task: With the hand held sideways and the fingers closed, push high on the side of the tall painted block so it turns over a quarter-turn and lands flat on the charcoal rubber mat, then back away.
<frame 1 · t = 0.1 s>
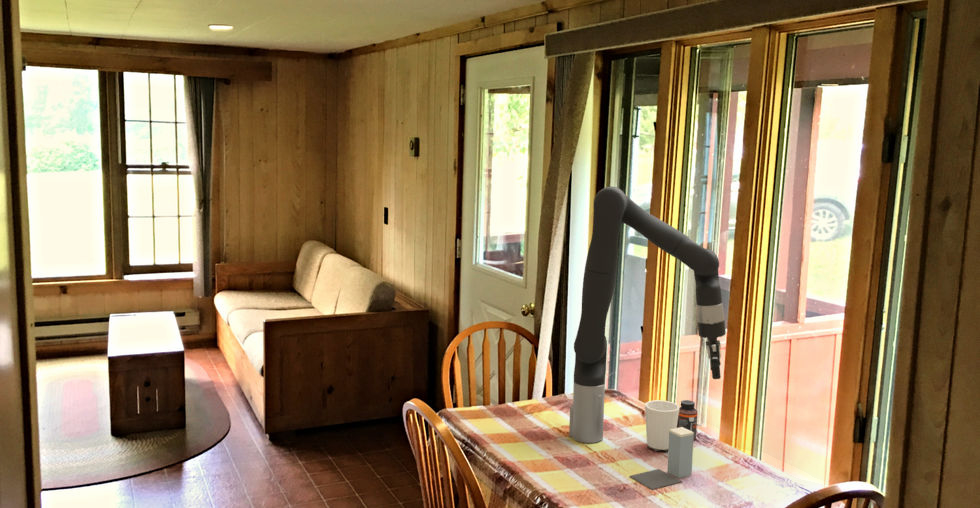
hand: (715, 374, 233), 22 cm above the table, tool pointing down, fingers open, 8 cm apart
supplement bottle: (685, 438, 244), on the table
block: (679, 473, 218), on the table
mat: (655, 479, 214), on the table
cup: (660, 448, 237), on the table
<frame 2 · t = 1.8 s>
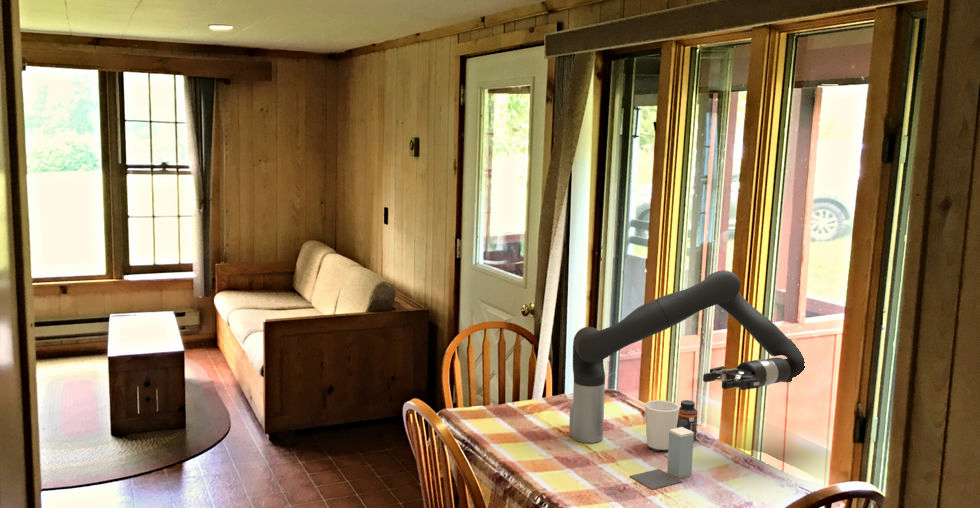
hand: (713, 381, 220), 24 cm above the table, tool horizontal, fingers open, 6 cm apart
nothing on the table moved.
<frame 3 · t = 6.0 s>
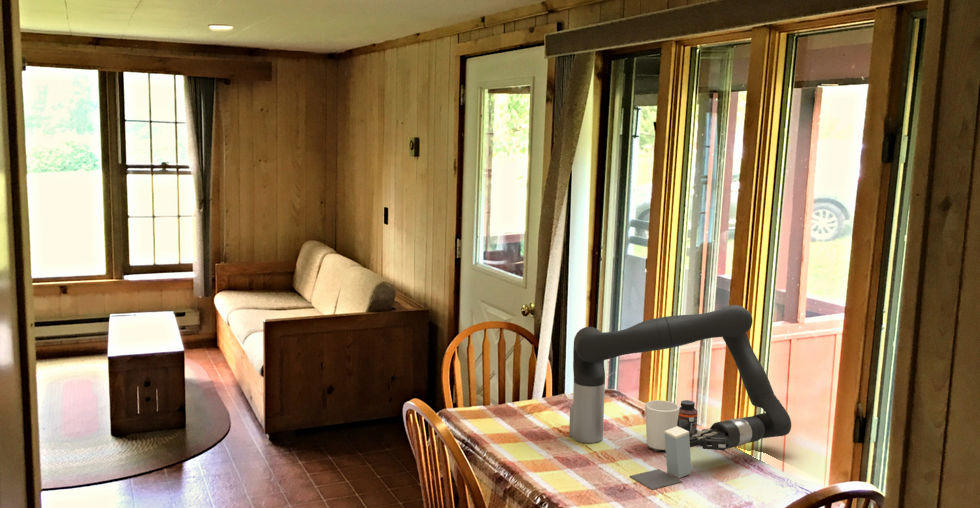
hand: (684, 443, 218), 8 cm above the table, tool horizontal, fingers closed
block: (679, 472, 218), on the table, tilted 8°
everything else where it was.
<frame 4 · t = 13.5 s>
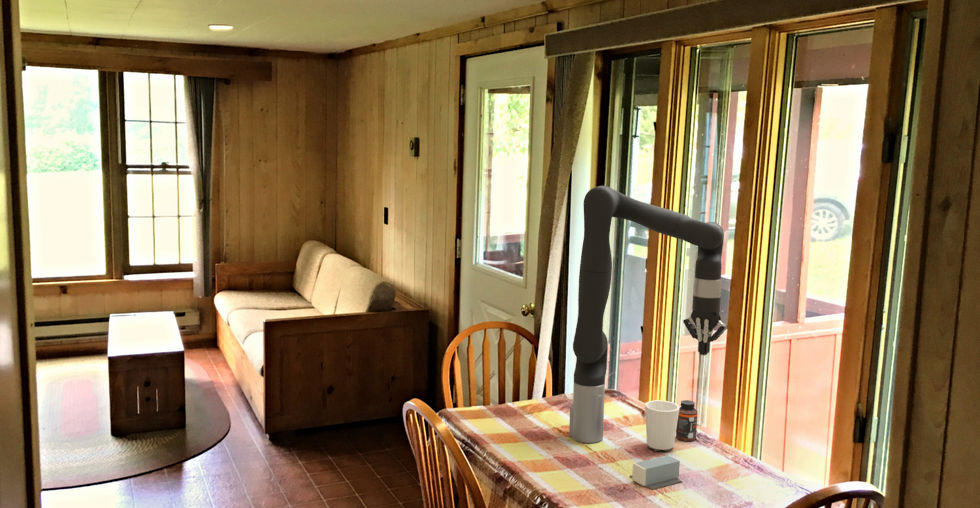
hand: (703, 354, 229), 29 cm above the table, tool pointing down, fingers closed
block: (673, 466, 217), point 3 cm above the table, tilted 90°, touching mat
everything else where it was.
at the end: block tilted 90°; block 6.1 cm from the mat (horizontally); the gripper is holding nothing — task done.
